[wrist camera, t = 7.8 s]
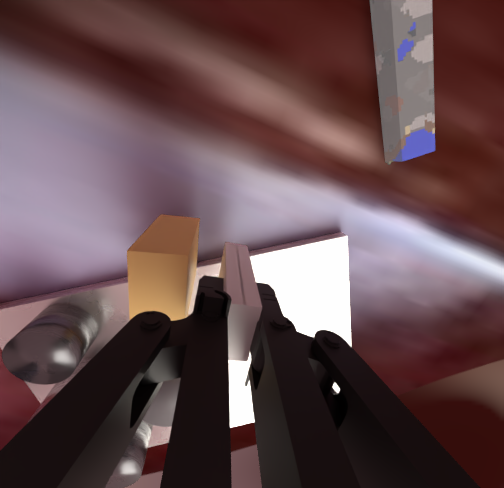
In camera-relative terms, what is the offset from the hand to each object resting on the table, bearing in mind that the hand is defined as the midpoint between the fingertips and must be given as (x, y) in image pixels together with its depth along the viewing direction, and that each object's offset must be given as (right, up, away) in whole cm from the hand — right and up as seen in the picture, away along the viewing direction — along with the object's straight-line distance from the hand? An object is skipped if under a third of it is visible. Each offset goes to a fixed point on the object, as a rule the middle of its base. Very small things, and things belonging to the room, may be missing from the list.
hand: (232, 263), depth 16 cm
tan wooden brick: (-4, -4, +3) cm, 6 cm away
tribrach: (-3, -8, +6) cm, 10 cm away
